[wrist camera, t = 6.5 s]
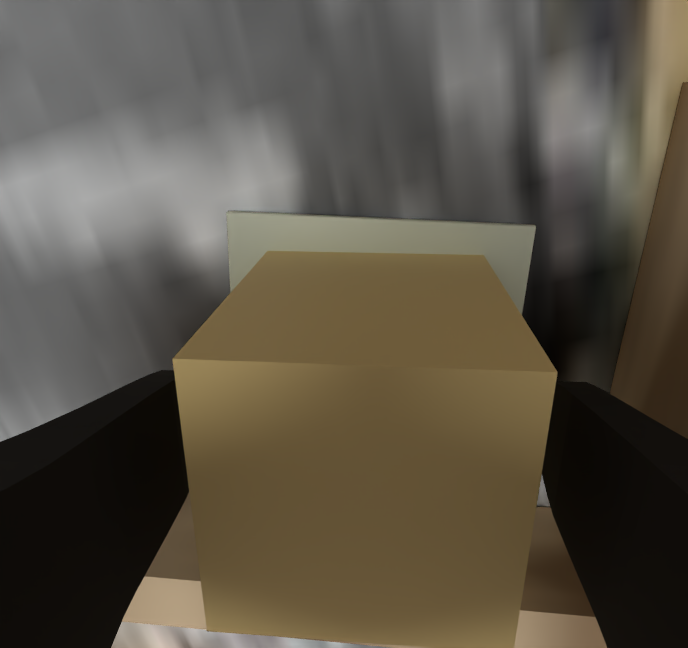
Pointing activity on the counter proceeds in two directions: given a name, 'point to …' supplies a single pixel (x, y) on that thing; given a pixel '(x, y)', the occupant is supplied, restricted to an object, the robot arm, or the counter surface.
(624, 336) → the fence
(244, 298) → the block
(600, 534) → the robot arm
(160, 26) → the counter surface
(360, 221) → the pad
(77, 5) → the counter surface
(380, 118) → the counter surface
